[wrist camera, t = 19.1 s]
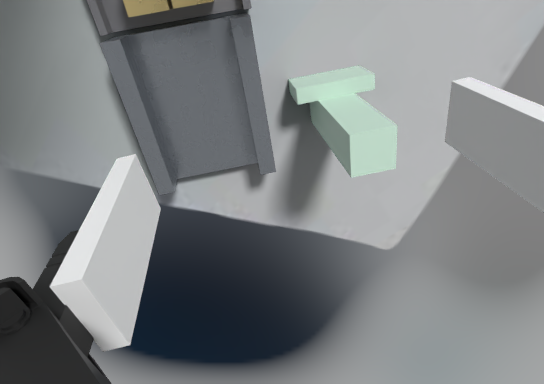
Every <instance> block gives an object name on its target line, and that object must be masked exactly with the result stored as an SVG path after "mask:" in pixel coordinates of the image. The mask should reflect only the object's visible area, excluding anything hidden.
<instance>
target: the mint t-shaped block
mask: <svg viewBox="0 0 544 384" xmlns="http://www.w3.org/2000/svg"><path fill="white" fill-rule="evenodd" d="M288 81H289V89H290V94H291V95H292V97H293V98H294V100H295V101H296V103H297V104H298V105H299V104H304V103H309V102H310V112H311V122H312V124H313V125H314V126H315V128H316V129H317V131H318V132H319V133H320V135H321V136H322V138H323V139H324V140H325V142H326V143H327V145H328V146H329V147H330V149H331V150H332V152H333V153H334V154H335V156H336V157H337V159H338V160H339V161H340V163H341V164H342V166H343V167H344V168H345V170H346V171H347V173H348V174H349V175H350V177H351V178H352V177H357V176H362V175H367V174H372V173H376V172H381V171H386V170H391V169H395V168H396V148H397V125H396V124H395V123H394V122H392V121H391V120H390V119H388V118H387V117H386V116H384V115H383V114H382V113H380V112H379V111H378V110H376V109H375V108H374V107H372V106H371V105H370V104H368V103H367V102H366V101H364V100H363V99H362V98H360V97H359V96H358V95H356V94H355V93H359V92H364V91H369V90H374V89H375V74H374V73H372V72H371V71H369V70H367V69H365V68H363V67H361V66H359V65H358V66H353V67H348V68H343V69H338V70H333V71H328V72H323V73H318V74H313V75H308V76H303V77H298V78H293V79H288Z"/></svg>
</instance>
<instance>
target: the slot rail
mask: <svg viewBox="0 0 544 384" xmlns="http://www.w3.org/2000/svg"><path fill="white" fill-rule="evenodd" d="M100 46H101V48H102V51H103V53H104V56H105V58H106V61H107V64H108V66H109V69H110V71H111V74H112V76H113V79H114V81H115V84H116V86H117V89H118V92H119V94H120V97H121V99H122V102H123V104H124V107H125V109H126V112H127V114H128V117H129V120H130V122H131V125H132V127H133V130H134V132H135V135H136V137H137V140H138V142H139V145H140V148H141V150H142V153H143V155H144V158H145V160H146V163H147V165H148V168H149V170H150V173H151V175H152V178H153V181H154V183H155V186H156V188H157V191H158V193H159V195H163V194H168V193H173V192H175V189H176V185H177V180H178V179H180V178H185V177H190V176H195V175H200V174H205V173H210V172H215V171H220V170H225V169H230V168H235V167H240V166H245V165H250V164H255V163H258V165H259V170H260V174H261V175H262V174H267V173H272V172H276V169H275V163H274V157H273V151H272V145H271V139H270V133H269V127H268V121H267V115H266V109H265V103H264V97H263V91H262V85H261V79H260V73H259V67H258V61H257V55H256V49H255V43H254V37H253V31H252V25H251V19H250V15H249V14H247V13H243V14H237V15H232V16H226V17H221V18H215V19H210V20H204V21H199V22H194V23H188V24H183V25H177V26H172V27H166V28H161V29H155V30H150V31H144V32H139V33H134V34H128V35H123V36H117V37H112V38H110V39H108V40H106V41H104V42H101V43H100Z"/></svg>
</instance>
